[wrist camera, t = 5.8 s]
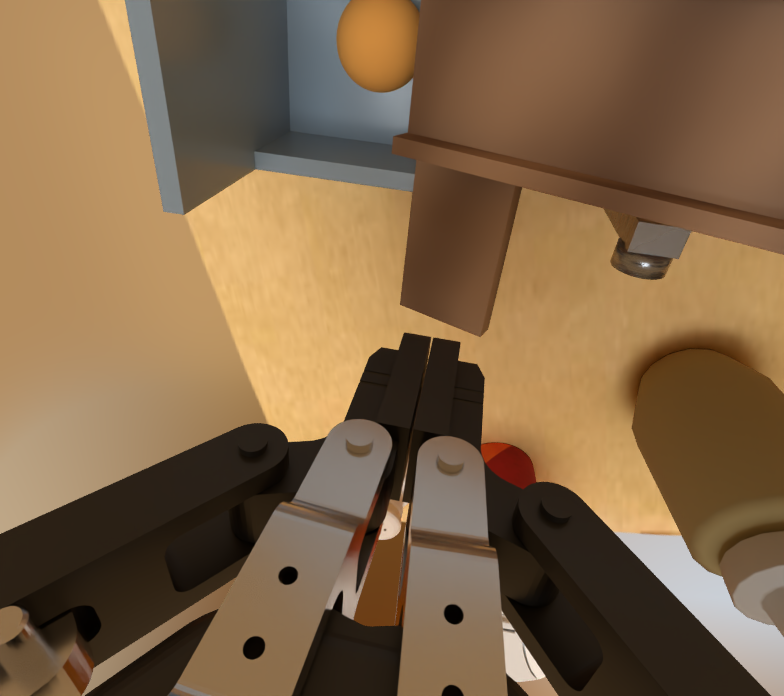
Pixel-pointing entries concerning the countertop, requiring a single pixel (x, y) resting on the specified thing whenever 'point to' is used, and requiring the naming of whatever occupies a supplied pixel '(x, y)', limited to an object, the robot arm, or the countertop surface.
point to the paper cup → (517, 657)
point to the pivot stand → (645, 245)
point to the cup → (259, 97)
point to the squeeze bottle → (720, 469)
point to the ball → (378, 43)
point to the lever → (586, 128)
